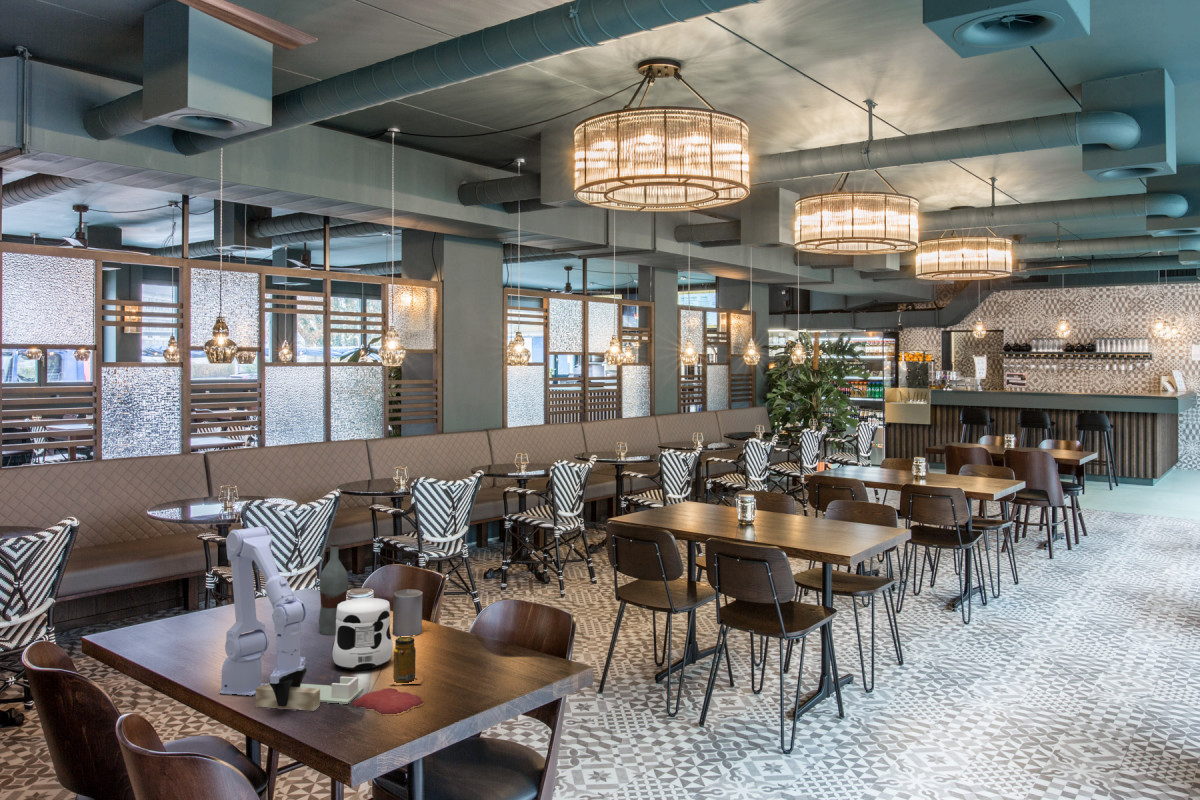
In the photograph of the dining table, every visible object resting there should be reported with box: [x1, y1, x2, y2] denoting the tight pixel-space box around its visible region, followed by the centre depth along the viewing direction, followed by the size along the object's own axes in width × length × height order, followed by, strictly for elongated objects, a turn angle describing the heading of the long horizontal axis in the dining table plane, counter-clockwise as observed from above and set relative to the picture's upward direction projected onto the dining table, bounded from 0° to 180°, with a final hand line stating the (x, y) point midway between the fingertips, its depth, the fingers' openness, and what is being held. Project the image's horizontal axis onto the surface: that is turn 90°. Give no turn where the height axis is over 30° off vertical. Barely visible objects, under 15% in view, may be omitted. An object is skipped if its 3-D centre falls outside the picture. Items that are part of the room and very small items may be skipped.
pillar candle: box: [392, 588, 424, 637], centre depth 270 cm, size 10×10×15 cm
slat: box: [254, 685, 321, 712], centre depth 205 cm, size 16×3×5 cm, turn 82°
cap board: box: [300, 683, 365, 705], centre depth 214 cm, size 24×10×1 cm, turn 83°
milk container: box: [331, 597, 394, 671], centre depth 238 cm, size 17×17×18 cm
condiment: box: [392, 636, 417, 683], centre depth 225 cm, size 7×8×12 cm
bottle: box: [318, 542, 349, 636], centre depth 270 cm, size 9×9×30 cm
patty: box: [351, 687, 424, 714], centre depth 209 cm, size 18×14×2 cm
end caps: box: [266, 676, 359, 699], centre depth 214 cm, size 23×6×4 cm, turn 83°
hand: (287, 701), depth 205 cm, fingers open, 5 cm apart
